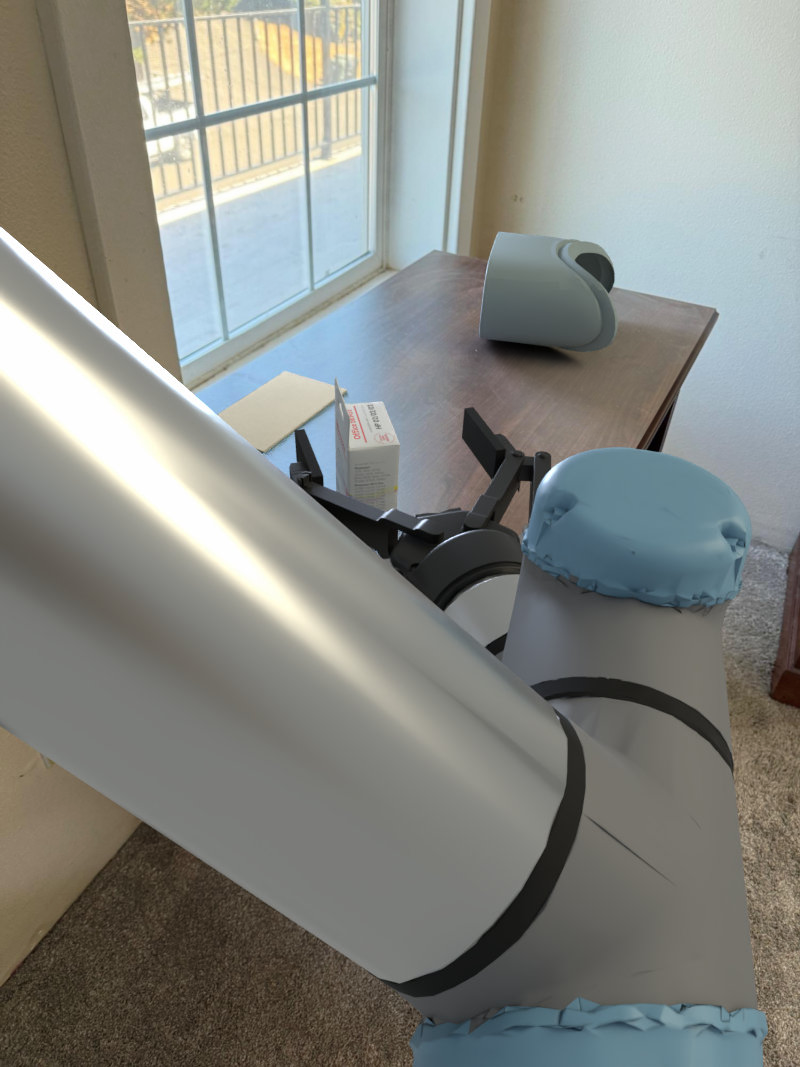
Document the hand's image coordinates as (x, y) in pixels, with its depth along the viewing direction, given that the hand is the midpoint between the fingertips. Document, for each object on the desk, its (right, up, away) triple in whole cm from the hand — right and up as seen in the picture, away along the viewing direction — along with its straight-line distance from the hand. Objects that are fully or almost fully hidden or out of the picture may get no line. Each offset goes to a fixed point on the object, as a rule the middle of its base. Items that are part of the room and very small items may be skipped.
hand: (386, 433), depth 58 cm
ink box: (-3, -7, +18) cm, 19 cm away
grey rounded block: (+24, +23, +57) cm, 66 cm away
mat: (-15, +8, +35) cm, 39 cm away
